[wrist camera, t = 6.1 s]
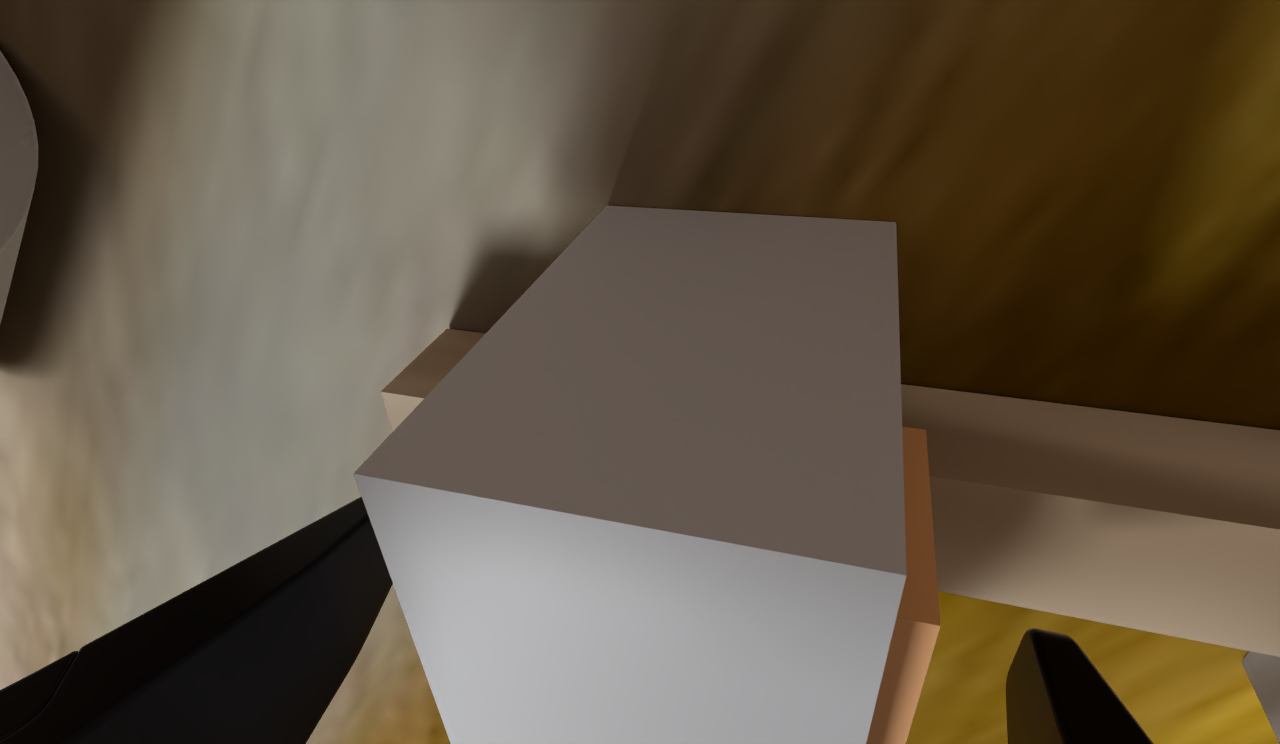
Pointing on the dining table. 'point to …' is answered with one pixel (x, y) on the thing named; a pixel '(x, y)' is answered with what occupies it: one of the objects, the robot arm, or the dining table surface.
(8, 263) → the toilet paper
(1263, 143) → the dining table surface
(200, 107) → the dining table surface
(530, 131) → the dining table surface
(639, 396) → the white block orange stripe
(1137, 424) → the grey block with bar
